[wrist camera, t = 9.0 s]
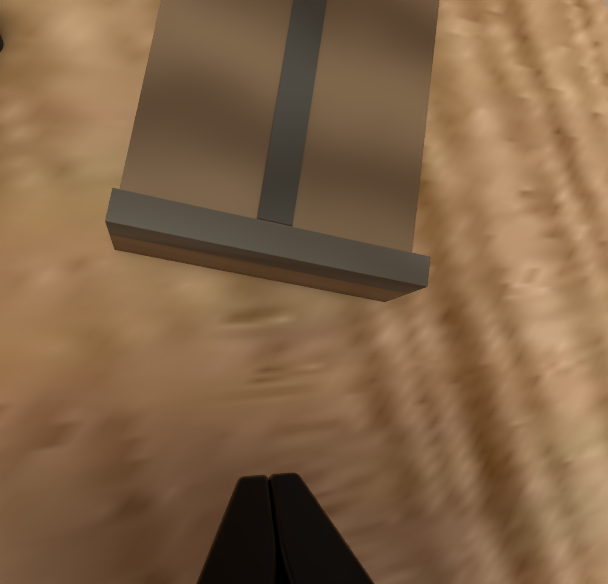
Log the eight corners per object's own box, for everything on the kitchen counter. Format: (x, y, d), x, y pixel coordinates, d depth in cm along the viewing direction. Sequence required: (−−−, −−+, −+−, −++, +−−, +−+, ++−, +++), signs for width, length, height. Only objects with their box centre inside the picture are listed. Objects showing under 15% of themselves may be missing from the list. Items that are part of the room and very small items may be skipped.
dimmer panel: (385, 301, 21) (427, 286, 18) (114, 249, 19) (105, 220, 16) (435, -130, 25) (477, -208, 22) (215, -215, 23) (224, -316, 20)
